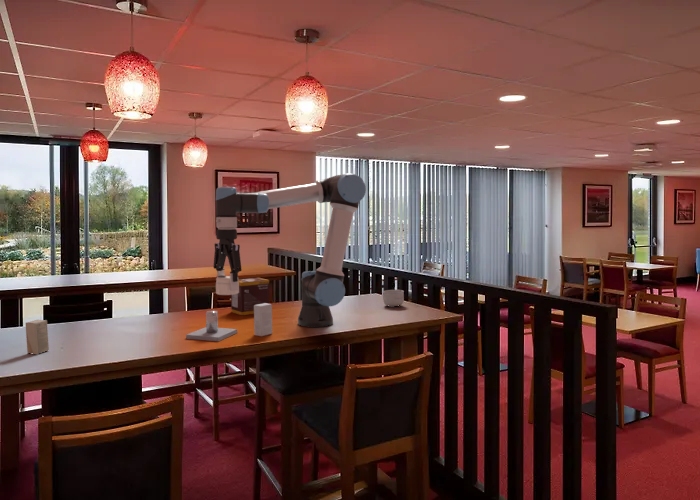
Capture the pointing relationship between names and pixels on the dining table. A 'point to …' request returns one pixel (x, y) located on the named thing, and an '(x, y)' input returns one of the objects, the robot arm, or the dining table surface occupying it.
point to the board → (211, 334)
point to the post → (211, 321)
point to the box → (37, 336)
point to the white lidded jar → (224, 286)
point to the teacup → (393, 297)
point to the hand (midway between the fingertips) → (227, 288)
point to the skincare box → (263, 319)
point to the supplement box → (250, 295)
